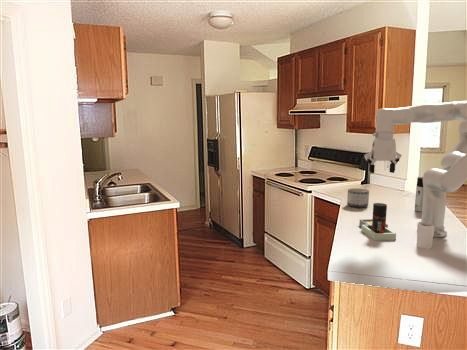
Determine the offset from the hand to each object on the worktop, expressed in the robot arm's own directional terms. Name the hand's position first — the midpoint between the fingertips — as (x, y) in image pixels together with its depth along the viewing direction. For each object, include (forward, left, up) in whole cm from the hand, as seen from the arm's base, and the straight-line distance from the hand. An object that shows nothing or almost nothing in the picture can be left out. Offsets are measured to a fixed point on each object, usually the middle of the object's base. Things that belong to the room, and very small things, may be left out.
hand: (381, 172), depth 163 cm
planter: (+55, -14, -31) cm, 64 cm away
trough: (0, 0, -30) cm, 30 cm away
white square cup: (-16, -13, -31) cm, 37 cm away
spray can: (+40, -47, -31) cm, 69 cm away
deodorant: (0, 0, -31) cm, 31 cm away
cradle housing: (+11, -3, -30) cm, 32 cm away
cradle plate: (+11, -3, -30) cm, 32 cm away
